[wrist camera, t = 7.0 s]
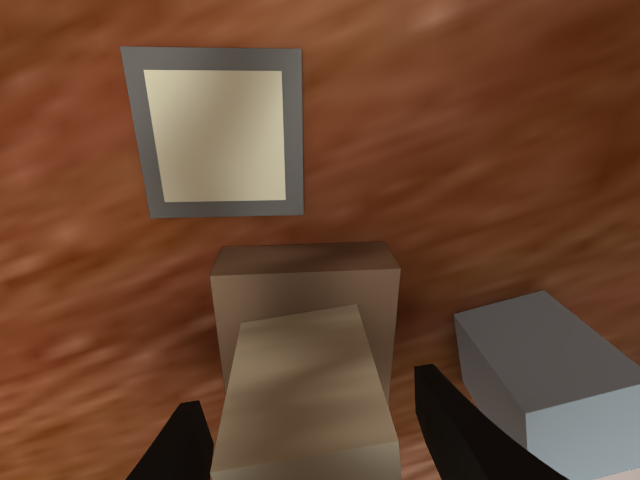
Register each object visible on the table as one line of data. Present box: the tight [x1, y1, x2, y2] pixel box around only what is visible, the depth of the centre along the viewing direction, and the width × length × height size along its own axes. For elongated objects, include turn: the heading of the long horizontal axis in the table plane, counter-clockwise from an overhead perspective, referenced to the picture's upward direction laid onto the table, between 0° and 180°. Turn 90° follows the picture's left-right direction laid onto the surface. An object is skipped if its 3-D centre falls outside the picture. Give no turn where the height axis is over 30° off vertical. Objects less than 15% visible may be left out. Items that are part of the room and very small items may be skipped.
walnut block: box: [210, 241, 401, 405], centre depth 16 cm, size 7×7×3 cm
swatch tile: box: [120, 47, 304, 218], centre depth 14 cm, size 6×6×1 cm
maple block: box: [210, 304, 402, 480], centre depth 12 cm, size 4×4×6 cm
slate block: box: [453, 290, 640, 480], centre depth 16 cm, size 4×4×6 cm
